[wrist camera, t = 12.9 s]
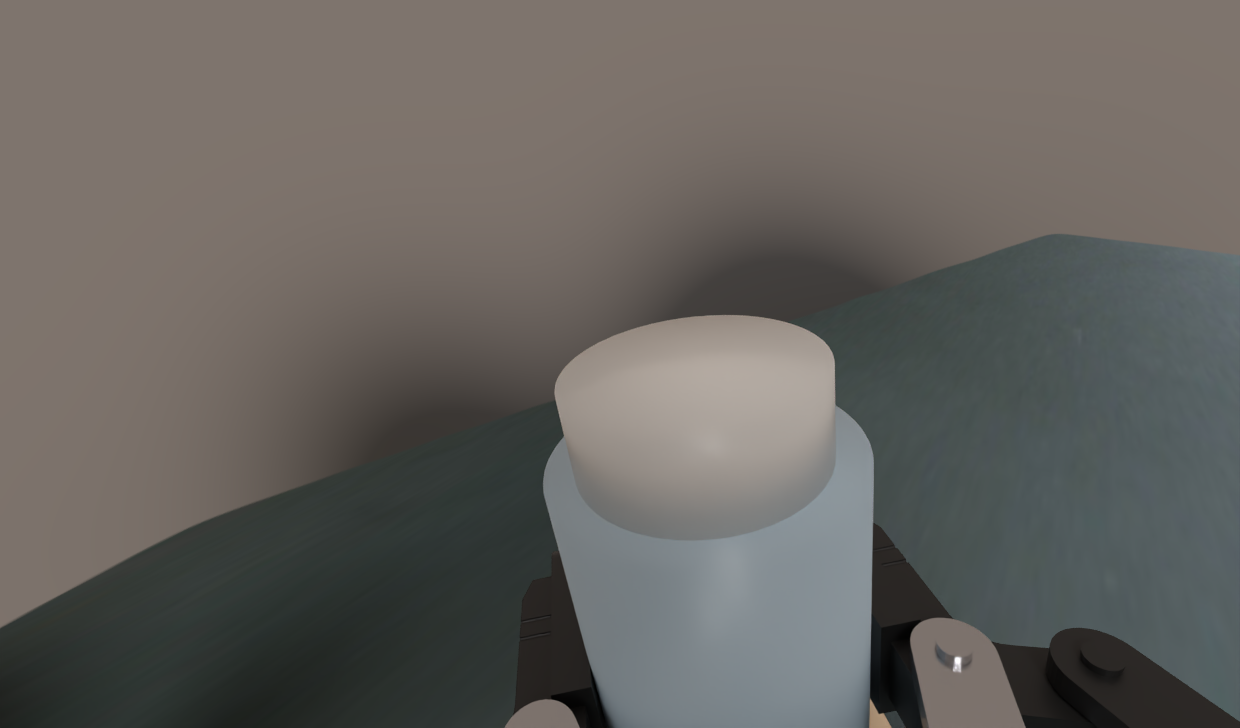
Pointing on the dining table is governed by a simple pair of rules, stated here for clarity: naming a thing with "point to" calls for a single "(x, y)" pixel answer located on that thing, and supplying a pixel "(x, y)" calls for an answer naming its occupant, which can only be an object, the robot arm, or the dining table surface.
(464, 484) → the dining table surface
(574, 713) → the robot arm
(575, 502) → the bottle
